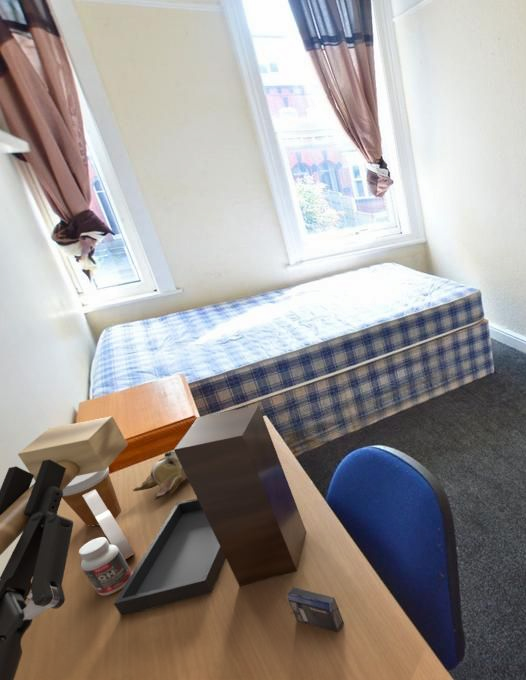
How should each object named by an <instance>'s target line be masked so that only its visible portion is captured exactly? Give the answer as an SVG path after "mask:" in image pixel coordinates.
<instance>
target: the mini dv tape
mask: <svg viewBox="0 0 526 680" xmlns="http://www.w3.org/2000/svg"><path fill="white" fill-rule="evenodd" d="M286 598H287V601H288V603H289V606H290V608H291V610H292V613H293V615H294V617H295V620H296V621H297V622H299V623H303V624H307V625H309V626H313V627H317V628H321V629H325V630H328V631H333V632H336V633H339V631H340V630H341V628H342V627H343V626H344V625H345V624H344V623H345V621H344V619H343V617H342V614H341V612H340V608H339V606H338V604H337V600H336V598H335V597H334V596H331V595H326V594H322V593H318V592H313V591H310V590H305V589H301V588H298V587H291V589H290V591H288V593H287V594H286Z"/></svg>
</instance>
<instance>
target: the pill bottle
mask: <svg viewBox="0 0 526 680" xmlns="http://www.w3.org/2000/svg"><path fill="white" fill-rule="evenodd" d="M78 555H79V556H80V558H81V559H82V560H81V563H80V567H81V569H82V571H83V572H84V575H85V576H86V577H87V579H88V580H89V582H90V583H91V585H92V586H93V588H94V590H95V591H96V592H97V594H98V595H100V596H109V595H111V594H115V593H116V592H118V591H120V590H123V588H124V586H125V585H126V583H127V582H128V580H129V578H130V577H131V575H132V574H133V571H132V569H131V567H130V566H129V564H128V563H127V561H126V559H124V558H123V556H122V554H121V552H120V551H119V549H118V548H117V546H115V545H112V544H111V543H110V541H109V540H108V538H107V537H104V536H99V537H96V538H93V539H91V540H89V541H88V542H86V543H84V544H83V545H82V546H81V547H80V548H79V550H78Z"/></svg>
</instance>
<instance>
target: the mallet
mask: <svg viewBox="0 0 526 680" xmlns="http://www.w3.org/2000/svg"><path fill="white" fill-rule="evenodd" d="M128 445H129V444H128V442H127V440H126V439H125V436H124V435H123V432H122V430H121V428H120V426H119V425H118V424H117V421H116V420H115V417H114V416H113V415H111V416H106V417H101V418H96V419H90V420H85V421H81V422H75V423H70V424H65V425H60V426H54V427H50V428H48V429H46V430H45V431H44V432H42V433H41V434H40V435H39V436H38V437H36V438H35V439H33V440H32V441H31V442H30V443H29V444H28V445H26V446H25V447H24V448H22V450H21V451H19V452H18V453H17V456H18V457H19V458H20V460H21V461H22V463H23V465H24V466H25V467H26V469H27V471H28V472H29V473H31V474H33V475H34V476H33V480H34V483H33V484H31V485H30V487H29V489H28V490H27V491H26V492H25V493H24V494H22V495H21V496H20V497H19V498H18V499H17V500H16V501H15V502H14V503H13V504H12V505H11V506H10V507H9V508H8V509H7V510H5V511H4V512H3V513H2V514H1V515H0V556H1V555H3V553H4V552H5V551H6V550H7V549H8V548H9V547H10V546H11V545H12V544H13V543H14V542H15V541H16V540H17V539H18V538H19V537H20V536H21V535H22V533H23V531H24V529H25V527H26V525H27V523H28V521H29V519H30V516H27V515H24V511H25V508H26V506H27V503H28V500H29V497H30V495H31V492H32V489H33V486H34V484H35V481H36V478H37V475H38V473H39V470H40V467H41V464H42V462H43V461H45V460H52V461H54V462H56V463H57V464H59V465H61V466H63V467H65V468H66V470H65V473H64V476H63V479H62V483H61V486H60V489H61V490H63V489H64V488H65V487H66V486H67V485H68V484H69V483H70V482H71V481H72V480H73V479H74V478H75V477H76V476H80V475H85V474H89V473H94V472H99V471H103V470H106V469H107V468H108V467H110V466H111V464H112V463H113V462H114V461H115V460H116V459H117V458H118V456H119V455H120V454H121V453H122V452H123V451H124V450H125V449H126V447H128Z"/></svg>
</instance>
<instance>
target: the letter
mask: <svg viewBox="0 0 526 680" xmlns="http://www.w3.org/2000/svg"><path fill="white" fill-rule="evenodd" d="M82 496H83V498H84V499H85V501H86V503H87V504H88V506H89V508H90V509H91V511H92V513H93V514H94V516H95V518H96V520H97V521H98V523H99V525H98V526H100V528H101V529H102V532H103V533H104V535H105V536H106V539H107V540H108V542H109V544H112V545H115V546H117V548H118V549H119V551H120V552H121V554H122V556H123V558H124V559H125V560H127V559H129V558H130V557H132V556H134V555H135V554H136V553H135V551H134V549H133V547H132V546H131V544H130V542H129V541H128V539H127V537H126V535H125V534H124V531H123V530H122V529H121V527H120V526H119V524H118V522H117V521H116V519H115V517H113V516H112V514H111V513H110V511H109V510H108V509H107V507H106V506H105V504H104V502H103V501H102V499H101V498H100V496H99V494H98V493H97V491H96V490H95V489H94V490H92V491H90V492H88V493H86V494H84V495H82Z"/></svg>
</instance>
